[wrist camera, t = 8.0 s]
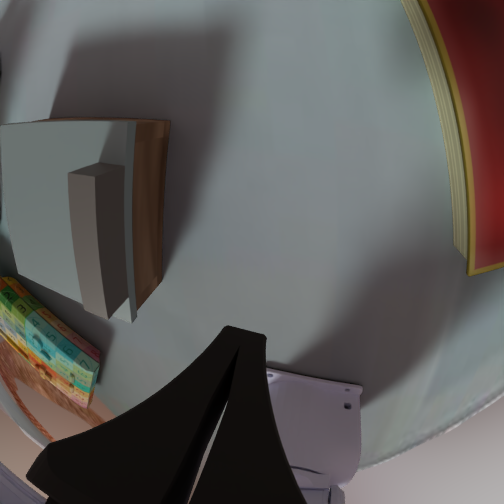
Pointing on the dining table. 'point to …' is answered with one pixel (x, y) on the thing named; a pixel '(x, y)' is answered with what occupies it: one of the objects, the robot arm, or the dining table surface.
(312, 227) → the dining table surface
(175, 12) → the dining table surface
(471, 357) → the dining table surface
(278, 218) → the dining table surface
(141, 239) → the box
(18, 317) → the puzzle game
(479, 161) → the hardcover book
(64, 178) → the lid
